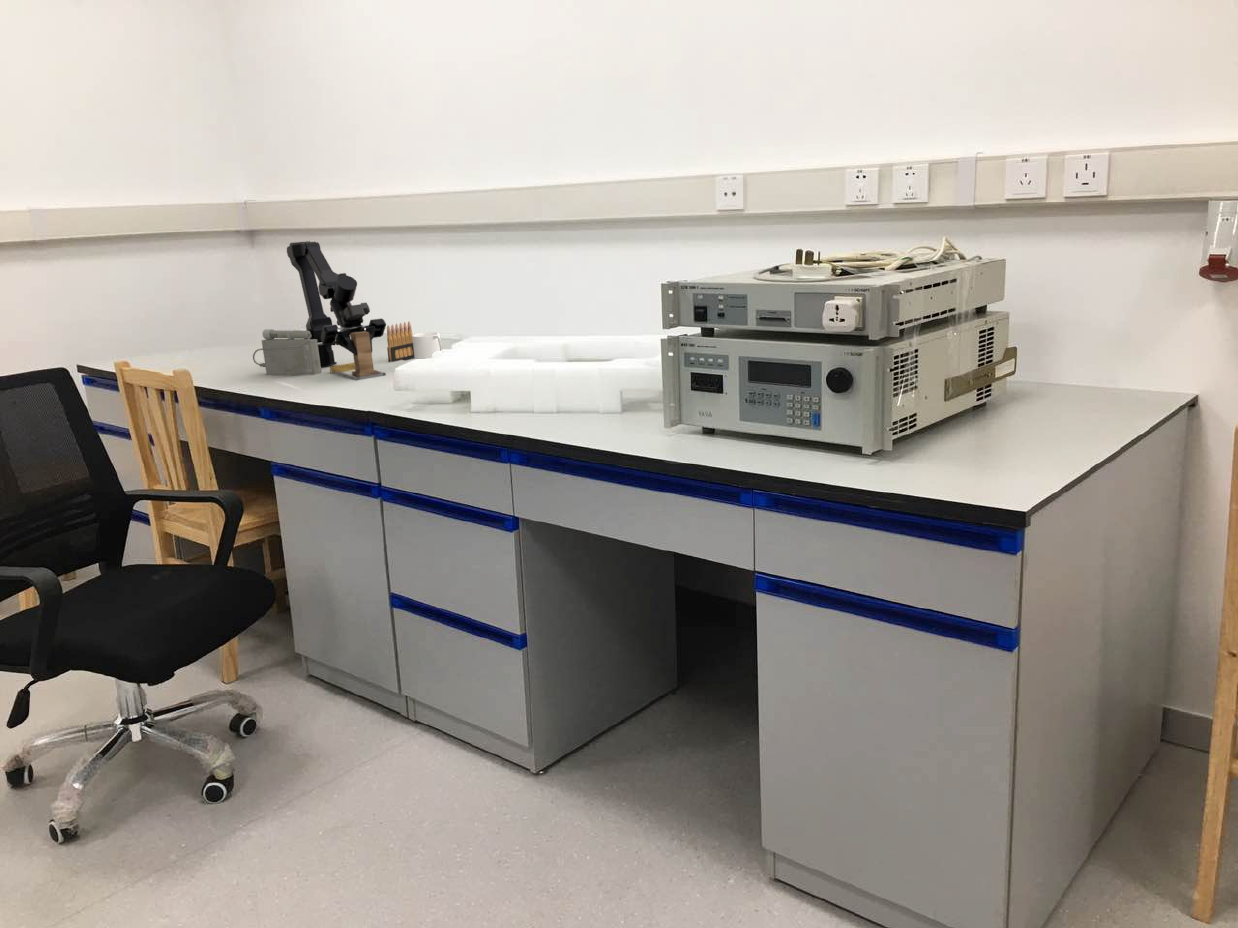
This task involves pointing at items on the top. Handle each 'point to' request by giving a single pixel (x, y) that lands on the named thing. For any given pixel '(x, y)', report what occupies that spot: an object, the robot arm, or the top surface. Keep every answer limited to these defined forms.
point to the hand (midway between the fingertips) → (364, 353)
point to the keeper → (362, 354)
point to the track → (351, 366)
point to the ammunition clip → (400, 343)
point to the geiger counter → (289, 353)
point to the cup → (426, 344)
